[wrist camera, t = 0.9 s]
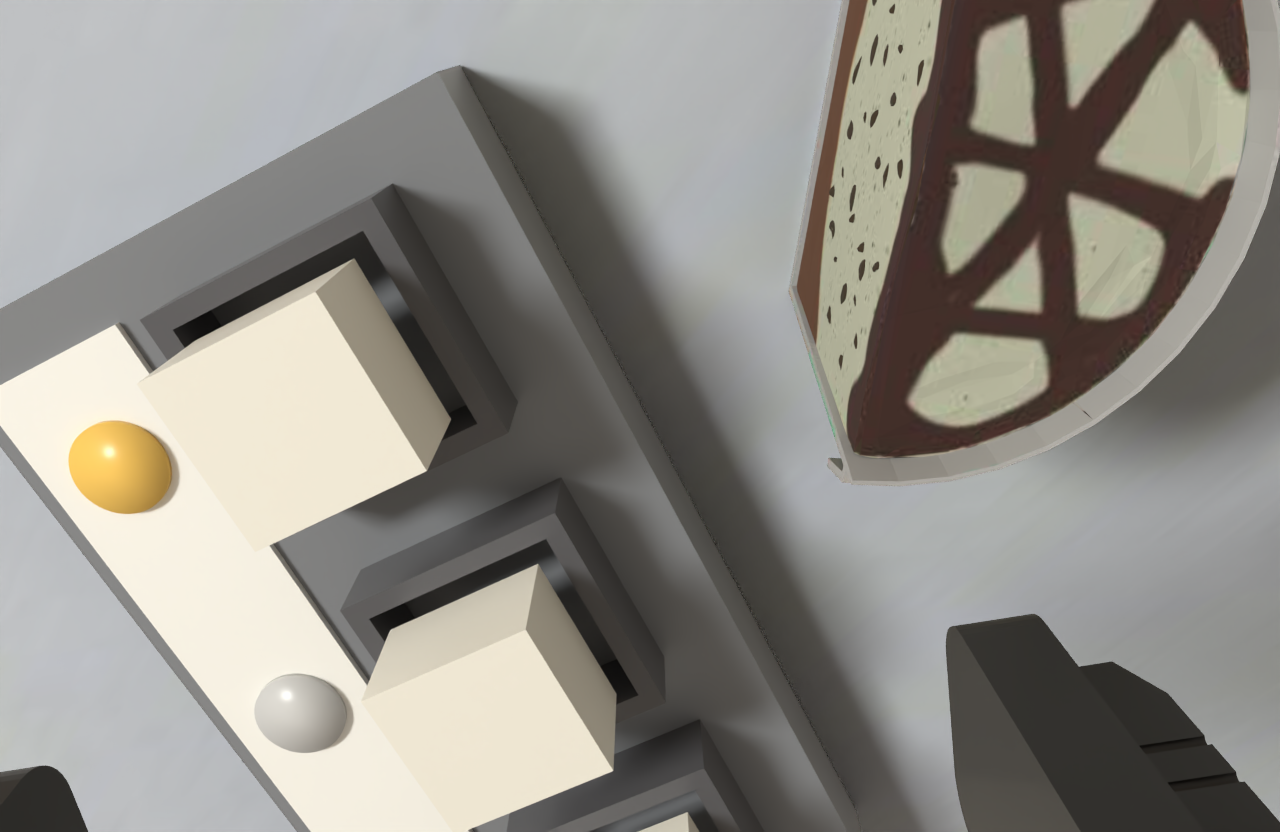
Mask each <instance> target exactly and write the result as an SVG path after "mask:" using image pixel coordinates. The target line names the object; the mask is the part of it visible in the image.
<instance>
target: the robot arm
mask: <svg viewBox="0 0 1280 832" xmlns="http://www.w3.org/2000/svg"><path fill="white" fill-rule="evenodd" d="M946 657H947V671H948V685H949V699H950V713H951V727H952V741H953V754H954V768H955V778H956V785H957V790H958V796H959V800H960V805H961V809H962V813H963V816H964V820H965V823H966V827H967V830H968V832H1280V822H1279V821H1278V820H1277V818H1276V817H1275V816H1274V815H1273V814H1272V813H1271V811H1270V810H1269V809H1268V808H1267V807H1266V806H1265V805H1264V803H1263V802H1262V801H1261V800H1260V799H1259V798H1258V797H1257V795H1256V794H1255V793H1254V792H1253V791H1252V790H1251V789H1250V787H1249V786H1248V785H1247V784H1246V783H1245V782H1239V781H1238V778H1237V775H1236V771H1235V770H1234V769H1233V768H1232V767H1231V766H1230V764H1229V763H1228V762H1227V761H1226V760H1225V759H1224V758H1223V756H1222V755H1221V754H1220V753H1219V752H1218V751H1217V750H1216V748H1215V747H1214V746H1213V745H1212V744H1211V745H1207V743H1206V741H1205V737H1204V735H1203V733H1202V732H1201V731H1200V730H1199V729H1198V728H1197V727H1196V725H1195V724H1194V723H1193V722H1192V721H1191V720H1190V719H1189V717H1188V716H1187V715H1186V714H1185V713H1184V712H1183V711H1182V709H1181V708H1180V707H1179V706H1178V705H1177V704H1176V702H1175V701H1174V700H1173V699H1172V698H1171V697H1170V696H1169V694H1168V693H1166V692H1164V691H1163V690H1161V689H1159V688H1157V687H1156V686H1154V685H1152V684H1150V683H1149V682H1147V681H1145V680H1143V679H1142V678H1140V677H1138V676H1136V675H1135V674H1133V673H1131V672H1129V671H1128V670H1126V669H1124V668H1122V667H1121V666H1119V665H1117V664H1115V663H1114V662H1107V663H1100V664H1094V665H1087V666H1081V667H1078V665H1077V664H1076V663H1075V661H1074V660H1073V659H1072V657H1071V656H1070V655H1069V654H1068V652H1067V651H1066V650H1065V648H1064V647H1063V646H1062V644H1061V643H1060V642H1059V640H1058V639H1057V638H1056V637H1055V635H1054V634H1053V633H1052V631H1051V630H1050V629H1049V627H1048V626H1047V625H1046V623H1045V622H1044V621H1043V620H1042V619H1041V618H1040V617H1039V616H1037V615H1035V614H1029V615H1023V616H1016V617H1010V618H1003V619H997V620H991V621H984V622H978V623H971V624H965V625H958V626H952V627H950V628H949V629H948V632H947V637H946ZM0 832H88V830H87V828H86V825H85V823H84V820H83V818H82V815H81V813H80V810H79V808H78V806H77V803H76V801H75V798H74V796H73V793H72V791H71V788H70V786H69V784H68V782H67V780H66V779H65V778H64V776H63V775H62V774H61V773H60V772H59V771H58V770H56V769H55V768H53V767H50V766H37V767H31V768H24V769H18V770H12V771H5V772H0Z"/></svg>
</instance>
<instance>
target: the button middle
mask: <svg viewBox="0 0 1280 832" xmlns="http://www.w3.org/2000/svg"><path fill="white" fill-rule="evenodd" d="M616 695H617V694H616V692H615V691H614V689H613V687H612V686H611V684H610V682H609V681H608V679H607V677H606V676H605V674H604V672H603V671H602V669H601V667H600V666H599V664H598V662H597V661H596V659H595V657H594V656H593V654H592V652H591V651H590V649H589V647H588V646H587V644H586V642H585V641H584V639H583V637H582V636H581V634H580V632H579V631H578V629H577V627H576V626H575V624H574V622H573V621H572V619H571V617H570V616H569V614H568V613H567V611H566V609H565V608H564V606H563V604H562V603H561V601H560V599H559V598H558V596H557V594H556V593H555V591H554V589H553V588H552V586H551V584H550V583H549V581H548V579H547V578H546V576H545V574H544V573H543V571H542V569H541V568H540V566H539V564H537V565H534V566H532V567H530V568H528V569H525V570H523V571H521V572H519V573H517V574H514V575H512V576H510V577H508V578H505V579H503V580H501V581H499V582H496V583H494V584H492V585H490V586H487V587H485V588H483V589H481V590H479V591H476V592H474V593H472V594H470V595H467V596H465V597H463V598H461V599H458V600H456V601H454V602H452V603H449V604H447V605H445V606H443V607H441V608H438V609H436V610H434V611H432V612H429V613H427V614H425V615H423V616H420V617H418V618H416V619H414V620H411V621H409V622H407V623H405V624H403V625H400V626H398V627H396V628H394V629H391V630H390V632H389V634H388V636H387V639H386V641H385V644H384V646H383V649H382V651H381V654H380V656H379V658H378V661H377V663H376V666H375V668H374V671H373V673H372V675H371V678H370V680H369V683H368V685H367V688H366V690H365V693H364V695H363V697H362V700H361V703H362V704H363V706H364V707H365V708H366V710H367V711H368V713H369V714H370V715H371V717H372V718H373V720H374V721H375V723H376V724H377V725H378V727H379V728H380V730H381V731H382V732H383V734H384V735H385V737H386V738H387V740H388V741H389V742H390V744H391V745H392V747H393V748H394V750H395V751H396V752H397V754H398V755H399V757H400V758H401V759H402V761H403V762H404V764H405V765H406V767H407V768H408V769H409V771H410V772H411V774H412V775H413V776H414V778H415V779H416V781H417V782H418V784H419V785H420V786H421V788H422V789H423V791H424V792H425V793H426V795H427V796H428V798H429V799H430V801H431V802H432V803H433V805H434V806H435V808H436V809H437V810H438V812H439V813H440V815H441V816H442V818H443V819H444V820H445V822H446V823H447V825H448V826H449V827H450V829H451V830H452V832H464V831H467V830H469V829H472V828H474V827H477V826H479V825H482V824H484V823H487V822H489V821H491V820H494V819H496V818H499V817H501V816H504V815H506V814H509V813H511V812H514V811H516V810H519V809H521V808H523V807H526V806H528V805H531V804H533V803H536V802H538V801H541V800H543V799H546V798H548V797H551V796H553V795H555V794H558V793H560V792H563V791H565V790H568V789H570V788H573V787H575V786H578V785H580V784H583V783H585V782H587V781H590V780H592V779H595V778H597V777H600V776H602V775H605V774H607V773H610V772H612V771H613V770H614V745H615V720H616Z"/></svg>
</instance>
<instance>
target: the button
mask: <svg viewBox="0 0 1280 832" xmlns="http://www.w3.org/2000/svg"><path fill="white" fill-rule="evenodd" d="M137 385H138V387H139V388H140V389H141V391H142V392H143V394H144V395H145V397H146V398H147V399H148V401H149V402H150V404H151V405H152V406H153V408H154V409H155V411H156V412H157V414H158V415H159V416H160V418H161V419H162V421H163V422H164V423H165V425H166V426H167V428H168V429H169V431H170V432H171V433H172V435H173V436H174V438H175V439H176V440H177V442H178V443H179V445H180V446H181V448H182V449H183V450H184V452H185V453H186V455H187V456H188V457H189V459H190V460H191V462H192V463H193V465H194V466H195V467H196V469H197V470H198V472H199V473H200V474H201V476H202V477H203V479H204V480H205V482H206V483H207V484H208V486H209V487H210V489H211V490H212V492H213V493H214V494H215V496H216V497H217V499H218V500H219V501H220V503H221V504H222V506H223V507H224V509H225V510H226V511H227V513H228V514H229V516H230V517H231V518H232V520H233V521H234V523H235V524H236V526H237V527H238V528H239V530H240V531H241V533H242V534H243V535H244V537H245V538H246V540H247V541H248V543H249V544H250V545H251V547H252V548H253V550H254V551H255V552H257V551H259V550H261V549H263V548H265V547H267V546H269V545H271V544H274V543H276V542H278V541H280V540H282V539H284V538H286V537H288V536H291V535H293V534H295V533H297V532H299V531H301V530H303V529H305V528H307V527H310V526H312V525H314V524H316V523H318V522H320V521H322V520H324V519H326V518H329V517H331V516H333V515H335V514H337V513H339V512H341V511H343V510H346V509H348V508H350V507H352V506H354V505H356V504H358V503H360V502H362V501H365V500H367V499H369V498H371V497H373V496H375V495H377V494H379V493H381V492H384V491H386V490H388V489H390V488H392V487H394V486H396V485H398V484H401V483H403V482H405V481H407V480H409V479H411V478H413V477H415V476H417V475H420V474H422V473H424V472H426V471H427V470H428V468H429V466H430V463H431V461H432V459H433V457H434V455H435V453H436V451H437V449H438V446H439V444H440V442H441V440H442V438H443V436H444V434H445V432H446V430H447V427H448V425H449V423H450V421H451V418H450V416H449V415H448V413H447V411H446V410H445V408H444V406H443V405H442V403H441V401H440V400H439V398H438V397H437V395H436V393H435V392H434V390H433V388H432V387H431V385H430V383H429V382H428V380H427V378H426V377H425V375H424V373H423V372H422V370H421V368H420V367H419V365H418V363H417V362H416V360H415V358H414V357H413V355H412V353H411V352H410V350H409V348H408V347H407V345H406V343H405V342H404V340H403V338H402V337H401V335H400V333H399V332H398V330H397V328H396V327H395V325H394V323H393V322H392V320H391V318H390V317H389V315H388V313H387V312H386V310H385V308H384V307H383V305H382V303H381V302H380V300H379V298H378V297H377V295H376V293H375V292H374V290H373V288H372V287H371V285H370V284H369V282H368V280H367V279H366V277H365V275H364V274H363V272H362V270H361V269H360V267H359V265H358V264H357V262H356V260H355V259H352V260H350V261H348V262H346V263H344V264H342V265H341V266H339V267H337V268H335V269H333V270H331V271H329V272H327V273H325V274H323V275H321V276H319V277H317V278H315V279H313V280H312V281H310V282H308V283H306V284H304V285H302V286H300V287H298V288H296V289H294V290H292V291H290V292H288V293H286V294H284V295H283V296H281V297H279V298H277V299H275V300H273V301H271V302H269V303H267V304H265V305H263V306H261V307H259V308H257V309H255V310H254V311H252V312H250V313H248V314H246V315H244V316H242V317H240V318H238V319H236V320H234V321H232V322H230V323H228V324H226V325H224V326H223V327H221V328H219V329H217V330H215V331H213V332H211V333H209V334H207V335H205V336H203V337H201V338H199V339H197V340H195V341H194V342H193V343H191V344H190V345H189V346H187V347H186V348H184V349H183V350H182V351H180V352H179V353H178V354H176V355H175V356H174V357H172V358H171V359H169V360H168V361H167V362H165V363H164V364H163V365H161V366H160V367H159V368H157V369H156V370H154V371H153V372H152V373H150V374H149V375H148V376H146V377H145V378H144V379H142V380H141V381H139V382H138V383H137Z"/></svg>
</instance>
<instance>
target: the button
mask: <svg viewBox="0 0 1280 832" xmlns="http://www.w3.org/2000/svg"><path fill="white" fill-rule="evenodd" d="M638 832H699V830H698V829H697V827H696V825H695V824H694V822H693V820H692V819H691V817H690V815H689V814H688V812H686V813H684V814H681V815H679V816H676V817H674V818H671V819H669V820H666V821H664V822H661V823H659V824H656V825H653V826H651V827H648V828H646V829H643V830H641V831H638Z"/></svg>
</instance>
